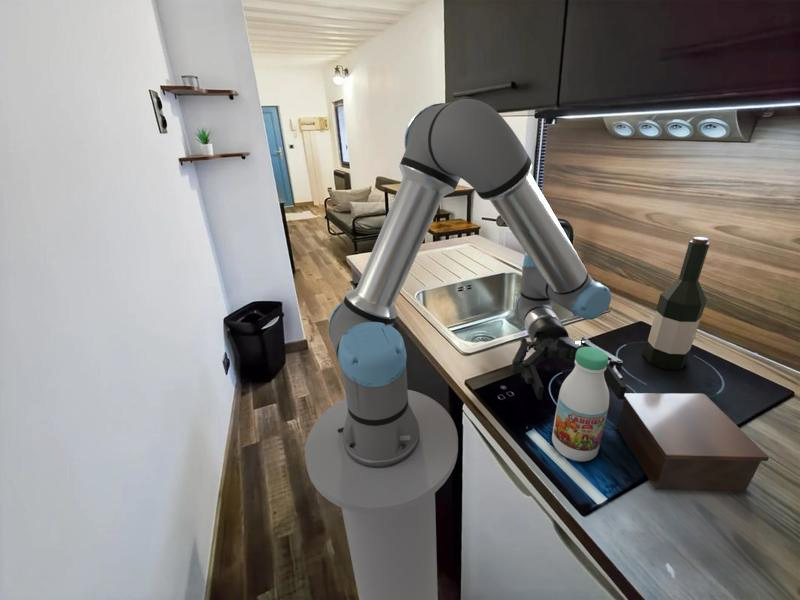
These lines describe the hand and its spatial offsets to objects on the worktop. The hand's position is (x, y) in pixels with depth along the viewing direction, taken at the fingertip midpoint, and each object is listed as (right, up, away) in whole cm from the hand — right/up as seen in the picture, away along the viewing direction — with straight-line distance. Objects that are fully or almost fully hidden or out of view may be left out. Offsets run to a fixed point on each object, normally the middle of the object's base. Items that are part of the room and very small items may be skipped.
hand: (581, 393), depth 63 cm
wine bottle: (+32, +2, +25) cm, 41 cm away
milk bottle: (0, -11, +4) cm, 11 cm away
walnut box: (+16, -11, 0) cm, 20 cm away
